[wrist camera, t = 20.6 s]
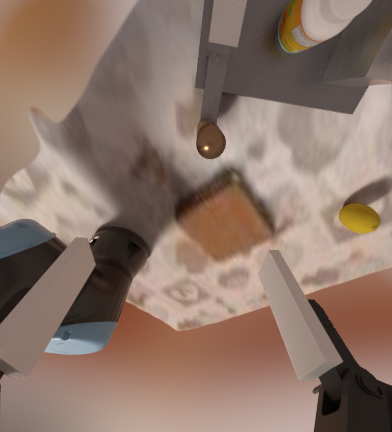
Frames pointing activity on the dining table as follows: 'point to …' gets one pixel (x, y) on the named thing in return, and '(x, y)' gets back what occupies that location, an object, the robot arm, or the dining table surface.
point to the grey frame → (305, 59)
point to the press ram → (218, 72)
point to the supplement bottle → (315, 21)
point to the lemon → (359, 218)
